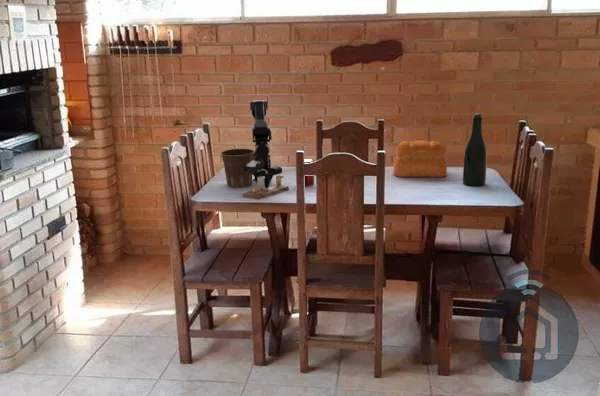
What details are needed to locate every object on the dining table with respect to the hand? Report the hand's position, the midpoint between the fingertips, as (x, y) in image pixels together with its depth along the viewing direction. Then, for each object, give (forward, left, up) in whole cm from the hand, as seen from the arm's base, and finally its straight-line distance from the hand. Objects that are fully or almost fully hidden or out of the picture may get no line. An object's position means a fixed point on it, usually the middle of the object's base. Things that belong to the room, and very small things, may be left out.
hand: (263, 187), depth 281 cm
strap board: (-2, 0, -3) cm, 3 cm away
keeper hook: (-11, +1, -1) cm, 11 cm away
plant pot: (-7, -21, -3) cm, 23 cm away
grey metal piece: (+3, 0, -1) cm, 3 cm away
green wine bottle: (-67, +73, -3) cm, 99 cm away
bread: (-72, +42, -3) cm, 84 cm away
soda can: (-24, +7, -3) cm, 25 cm away
